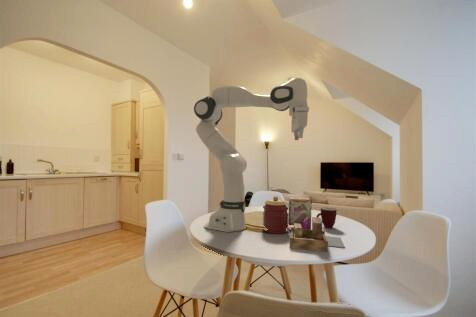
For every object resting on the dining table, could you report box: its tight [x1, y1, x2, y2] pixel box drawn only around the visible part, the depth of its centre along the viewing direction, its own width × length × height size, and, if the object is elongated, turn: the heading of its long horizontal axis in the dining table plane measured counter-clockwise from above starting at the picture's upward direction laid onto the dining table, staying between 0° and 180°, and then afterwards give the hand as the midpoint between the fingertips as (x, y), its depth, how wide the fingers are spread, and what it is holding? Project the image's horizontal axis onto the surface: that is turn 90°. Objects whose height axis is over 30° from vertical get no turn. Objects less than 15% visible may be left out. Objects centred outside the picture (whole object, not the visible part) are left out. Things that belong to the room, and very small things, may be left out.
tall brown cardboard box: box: [311, 216, 323, 240], centre depth 97 cm, size 4×10×10 cm, turn 164°
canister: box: [262, 195, 289, 235], centre depth 117 cm, size 13×13×18 cm
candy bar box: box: [288, 197, 312, 230], centre depth 118 cm, size 11×5×16 cm, turn 84°
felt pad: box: [325, 235, 346, 249], centre depth 100 cm, size 7×13×1 cm, turn 164°
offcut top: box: [294, 223, 302, 236], centre depth 100 cm, size 3×7×4 cm, turn 169°
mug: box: [316, 207, 338, 229], centre depth 124 cm, size 10×8×10 cm
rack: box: [289, 228, 329, 253], centre depth 98 cm, size 15×15×4 cm
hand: (298, 139), depth 112 cm, fingers open, 8 cm apart
